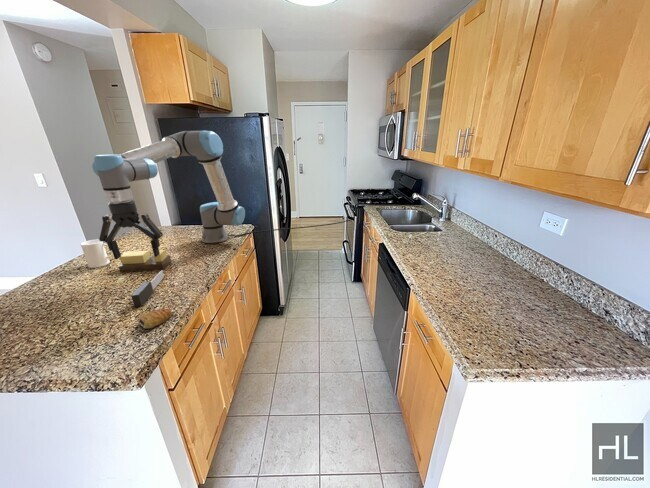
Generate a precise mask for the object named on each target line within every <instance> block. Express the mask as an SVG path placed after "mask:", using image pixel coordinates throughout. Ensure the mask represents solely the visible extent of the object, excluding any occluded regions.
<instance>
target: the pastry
mask: <svg viewBox="0 0 650 488" xmlns="http://www.w3.org/2000/svg"><path fill="white" fill-rule="evenodd" d="M172 315H173V313H172V310H171V309H170V308H159V309H155V310H150V311H148V312H145V313H143V315H140V316H139V317H138V323H139V325H140V327H142V328H143V329H147V330H148V329H152V328H155V327H157V326H159V325H161V324H162V323H165V322H166V321H167V320H169V319H170V317H171V316H172Z"/></svg>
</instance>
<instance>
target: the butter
mask: <svg viewBox="0 0 650 488" xmlns="http://www.w3.org/2000/svg"><path fill="white" fill-rule="evenodd" d="M150 256H151V255H150V252H149V250H133V251H125V252H123V254H121V257H119V260H120V264H135V263H145V262H146V261H147V260H148V259H150Z"/></svg>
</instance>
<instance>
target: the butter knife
mask: <svg viewBox="0 0 650 488" xmlns="http://www.w3.org/2000/svg"><path fill="white" fill-rule="evenodd" d="M164 278H165V275H164V271H163V269H160V271H159V272H158V273H157V274H156V275H155V276H154V277H153V279H151V281H143V283H141V285H139V286H138V287H137V288H136V290H134V292H133V293H131V295H130V297H131V300H132V303H133V306H134V308H135V307H136V308H138V307H143V305H144V304H146V302H147V301H148V300H149V298H150V297H151V296H152V295H153V294H154V292H155V291H154V289H156V288H157V286H159V284H160V283H161V282H162V280H164Z"/></svg>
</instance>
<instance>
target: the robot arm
mask: <svg viewBox="0 0 650 488" xmlns="http://www.w3.org/2000/svg"><path fill="white" fill-rule="evenodd" d="M223 153H224V143H223V141H222V138H221V137H220V136H219V135H218V134H217V133H216V132H214V131H212V130H204V129H203V130H184V131H179V132H176V133H173V134H170V135H168V136H163V138H162V139H161V141H157V142H153V143H151V144H148V145H144V146H142V147H139V148H138V147H137V148H135V149H132V150H129V151H126V152H122V153H119V154H114V153H113V154H96V155H94V157H93V161H92V165H91V167H92V171H93V173H94V174H95V175H96V176H97V177H98V178H99V181H100V184H101V187H102V190H103V193H104V196H105V199H106V202H107V203H108V204H107V205H108V208H109V212H110V214H111V215H110V214H106V215H103V216H102V217H101V219H102V226H101V230H100V235H99V237H98V239H99V241H101V242H103V243H105V244H107V245H108V246H107V247H108V250H109V251H111V253H112V252H113V255H112V256H113V257H114V260H118V259H120V257H121V255H122V254H121V251H120V248H119V245H118V241H117V240H116V239H115V237H116V236H117V234H118V233H119V231H120V230H121V228H122V229H123V228H135V229H137V230H140V232H142V233H143V234H145V235H146V236H147V238H150V240H149V241H150V245H151V248H152V252H153V256H155V257H157V256H158V255H159V254H160V253H159V250H160V249H159V247H160V246H161V243H160V240H159V239H161V238H162V237H163V236H164V233H162V231H161V230H160V229H159V228H158V226H157V225H156V224H155V223H154V221H153V220H152V219H150V216H149V213H147V212H144V213H142V214H139V213H138V209H137V206H136V202H135V201H134V194H133V191H132V188H131V184H130V183H132V182H136V181H144V180H150V179H154V178H156V177H157V176H158V172H159V169H158V166H157V163H160V162H162V161H165V160H167V159H170V158H173V159H177V158H179V157H196V159H197V162H198V163H199V164H201V165H202V166H203V168H204V171H205V174H206V176H207V178H208V181H209V184H210V186H211V189H212V191H213V193H214V197H215V198H216V201H213V202H207V203H204V204H201V205H200V206H199V214H200V218H201V224H202V229H203V230H202V232H201V241H202V243H204V244H219V243H223V242H225V241H227V240H228V239H229V237H241V236H245V235H250V234H256V233H266V232H275V231H285V230H296V229H306V228H318V227H325V226H331V225H338V224H344V223H346V222H350V223H351V222H352V221H351V219H345V220H344V221H338V222H332V223H326V224H316V225H308V226H296V227H287V228H286V227H285V228H284V227H283V228H275V229H265V230H258V231H249V232H244V233H241V234H229V233H228V232H227V230H226V229H225V227H224V226H232V227H239V226H241V225H242V224H243V223H244V220H245V217H246V210H245V207H243V206H241V205H239V203H238V201H237V200H236V199H234V196H233V193H232V190H231V188H230V185H229V182H228V179H227V176H226V173H225V171H224V168H223V165H222V163H221V159H222V157H223V156H222V155H223ZM112 221H113V222H114V223H115V224H114V226H113V227H112V229H111V231H110V228H111V223H112ZM142 221H143V222H142ZM109 231H110V232H109Z"/></svg>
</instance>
